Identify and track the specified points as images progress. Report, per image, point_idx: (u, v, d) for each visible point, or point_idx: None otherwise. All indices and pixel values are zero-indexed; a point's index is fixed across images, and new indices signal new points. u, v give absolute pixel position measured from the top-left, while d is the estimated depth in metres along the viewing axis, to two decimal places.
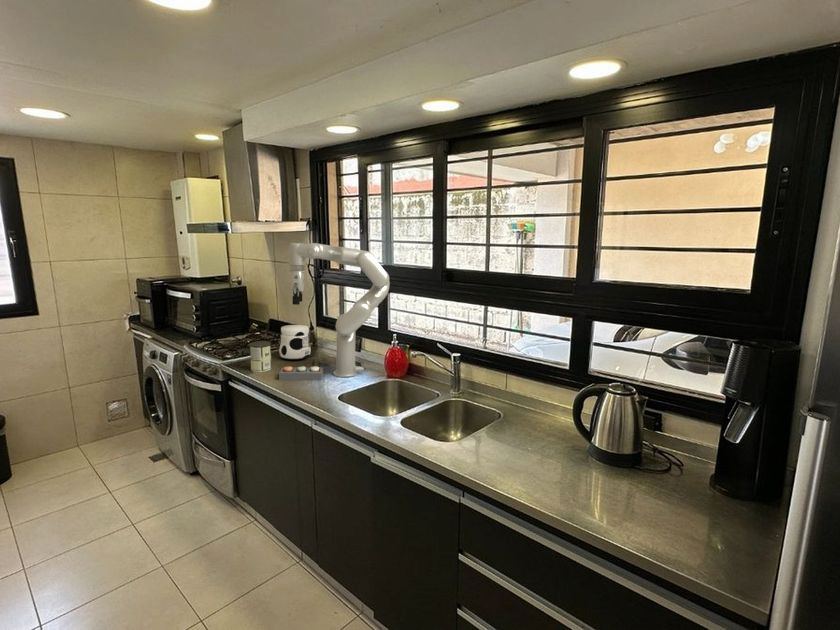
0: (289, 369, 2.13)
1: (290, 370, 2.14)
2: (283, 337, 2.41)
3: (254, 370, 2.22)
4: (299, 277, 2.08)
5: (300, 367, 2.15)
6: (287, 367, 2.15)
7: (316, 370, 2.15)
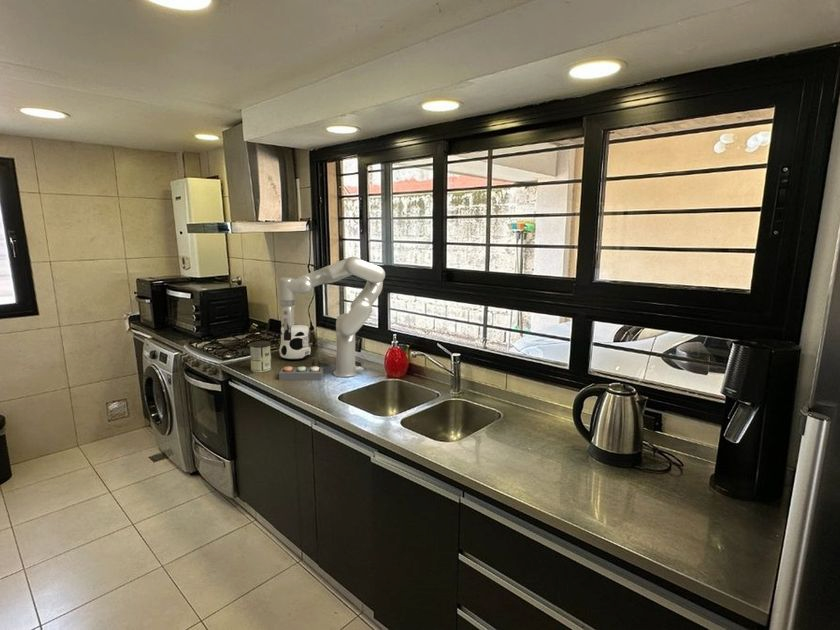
0: (289, 369, 2.13)
1: (290, 370, 2.14)
2: (283, 337, 2.41)
3: (254, 370, 2.22)
4: (289, 313, 2.05)
5: (300, 367, 2.15)
6: (287, 367, 2.15)
7: (316, 370, 2.15)
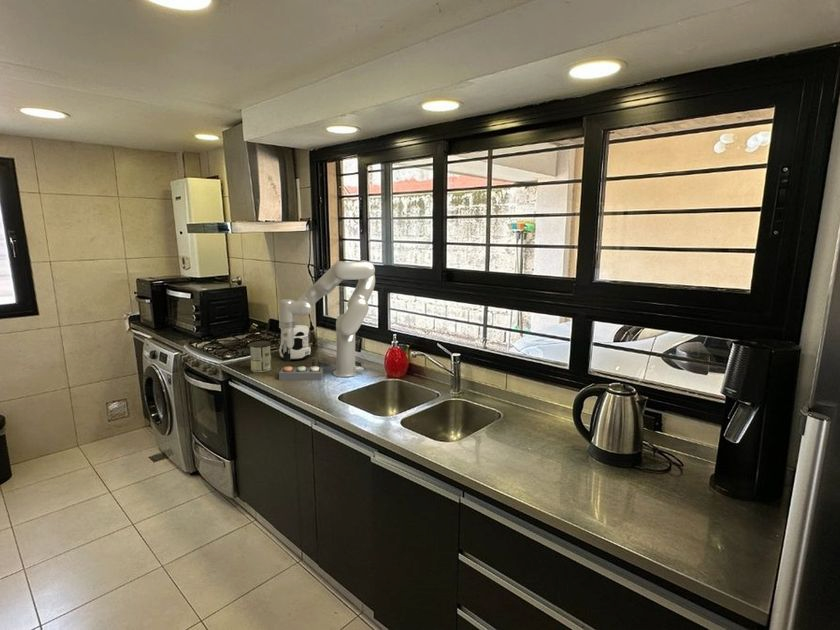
0: (289, 369, 2.13)
1: (290, 370, 2.14)
2: None
3: (254, 370, 2.22)
4: (289, 334, 2.07)
5: (300, 367, 2.15)
6: (287, 367, 2.15)
7: (316, 370, 2.15)
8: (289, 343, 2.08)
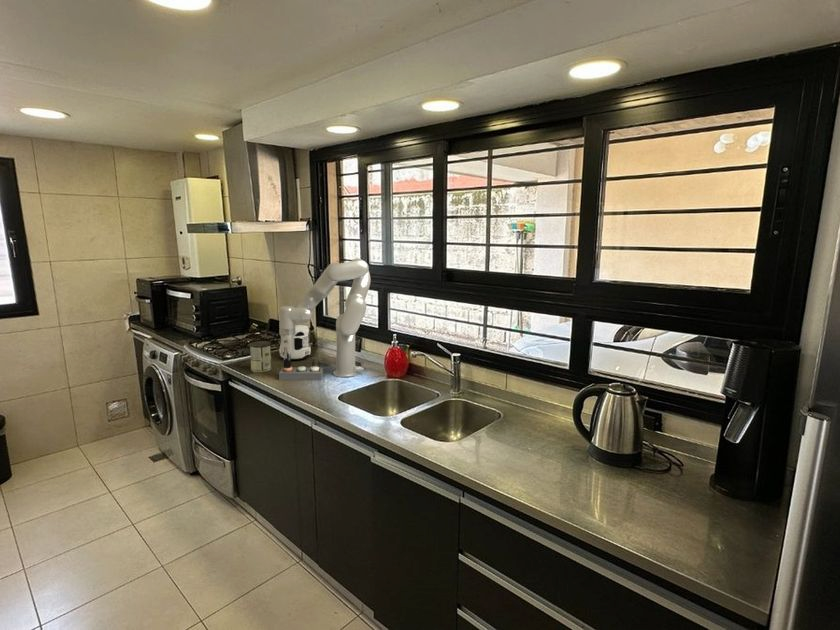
0: (289, 369, 2.13)
1: (290, 370, 2.14)
2: None
3: (254, 370, 2.22)
4: (289, 341, 2.08)
5: (300, 367, 2.15)
6: None
7: (316, 370, 2.15)
8: (289, 350, 2.08)
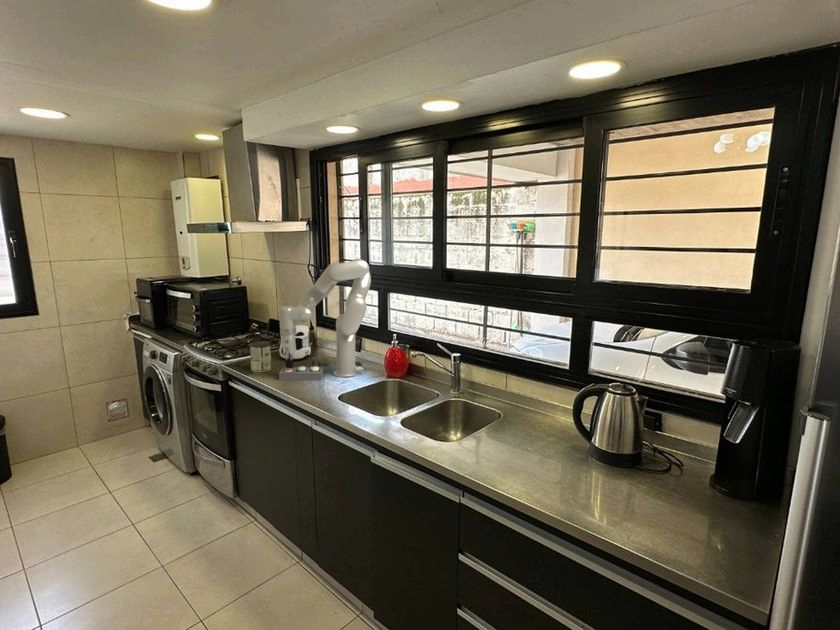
0: None
1: None
2: None
3: (254, 370, 2.22)
4: (290, 341, 2.08)
5: (300, 367, 2.15)
6: (287, 369, 2.15)
7: (316, 370, 2.15)
8: (291, 350, 2.09)
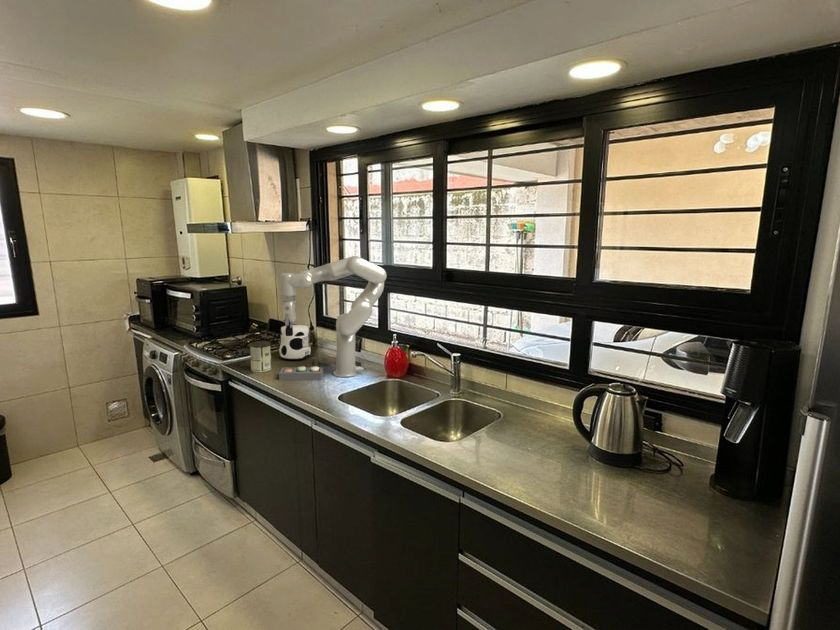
0: None
1: None
2: (283, 337, 2.41)
3: (254, 370, 2.22)
4: (290, 308, 2.06)
5: (300, 367, 2.15)
6: (287, 369, 2.15)
7: (316, 370, 2.15)
8: (291, 317, 2.06)
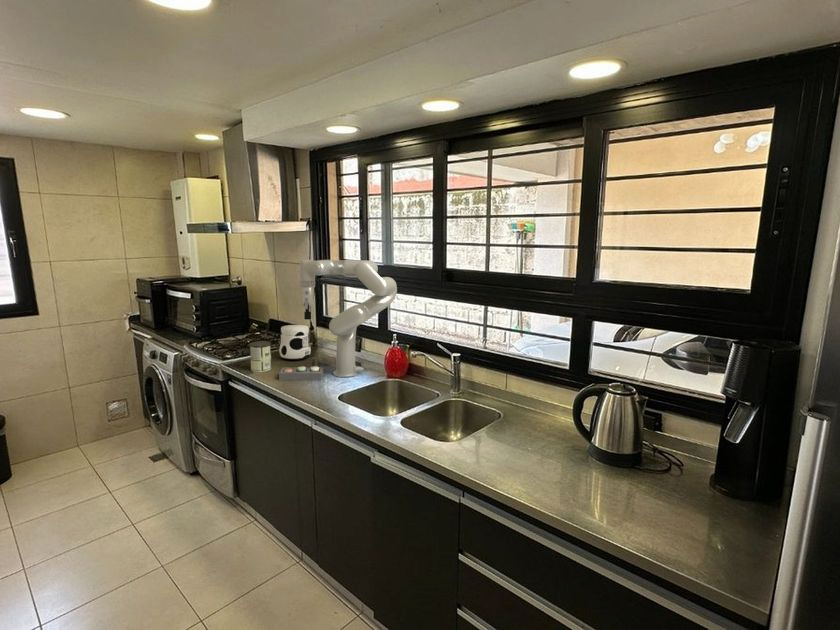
0: None
1: None
2: (283, 337, 2.41)
3: (254, 370, 2.22)
4: (309, 292, 2.18)
5: (300, 367, 2.15)
6: (287, 369, 2.15)
7: (316, 370, 2.15)
8: (310, 301, 2.18)
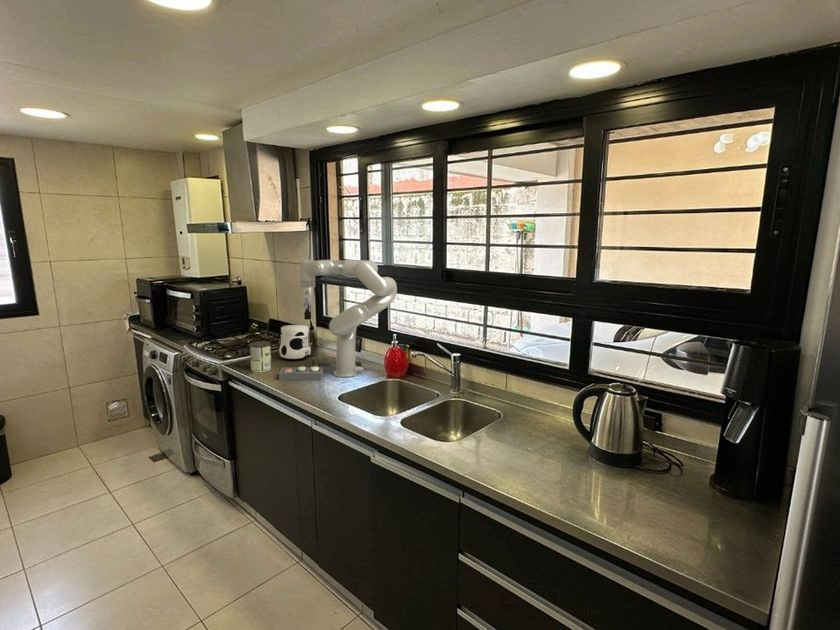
0: None
1: None
2: (283, 337, 2.41)
3: (254, 370, 2.22)
4: (309, 292, 2.18)
5: (300, 367, 2.15)
6: (287, 369, 2.15)
7: (316, 370, 2.15)
8: (310, 301, 2.18)
